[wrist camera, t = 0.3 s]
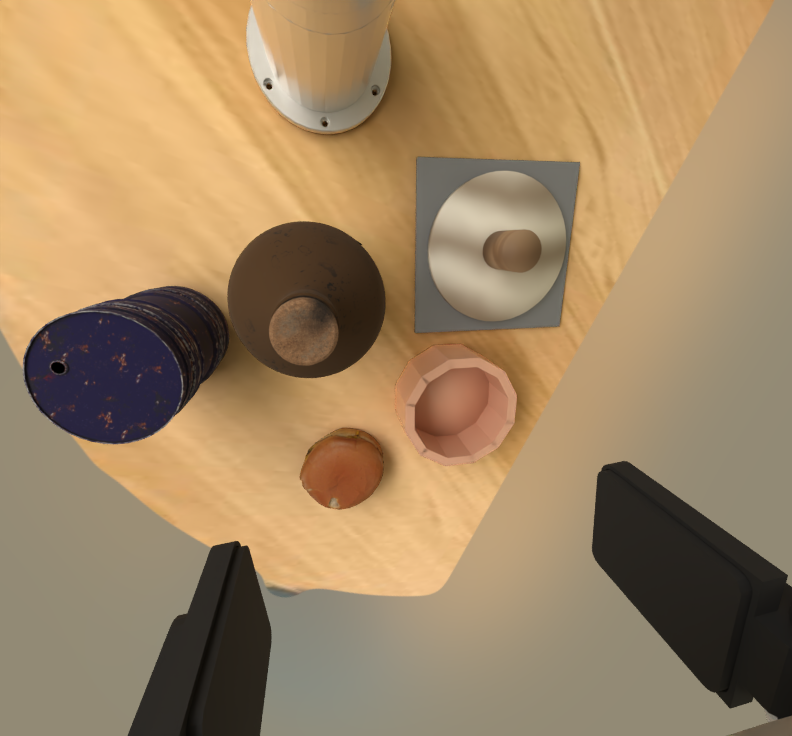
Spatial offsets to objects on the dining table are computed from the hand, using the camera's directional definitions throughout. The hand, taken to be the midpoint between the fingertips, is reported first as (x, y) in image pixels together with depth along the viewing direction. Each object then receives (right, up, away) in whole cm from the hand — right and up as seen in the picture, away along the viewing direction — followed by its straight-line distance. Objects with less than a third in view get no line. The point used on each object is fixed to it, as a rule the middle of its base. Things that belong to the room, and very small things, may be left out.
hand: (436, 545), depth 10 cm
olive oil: (-10, +14, +32) cm, 36 cm away
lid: (+10, +18, +33) cm, 39 cm away
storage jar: (-23, +8, +31) cm, 39 cm away
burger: (-8, -7, +39) cm, 40 cm away
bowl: (+5, +1, +38) cm, 39 cm away
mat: (+10, +18, +34) cm, 39 cm away
